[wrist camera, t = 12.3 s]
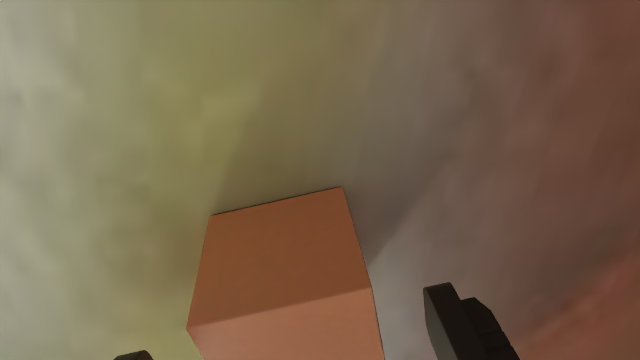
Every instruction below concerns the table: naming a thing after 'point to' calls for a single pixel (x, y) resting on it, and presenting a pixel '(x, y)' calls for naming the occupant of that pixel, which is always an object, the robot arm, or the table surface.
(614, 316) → the table surface
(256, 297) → the block
